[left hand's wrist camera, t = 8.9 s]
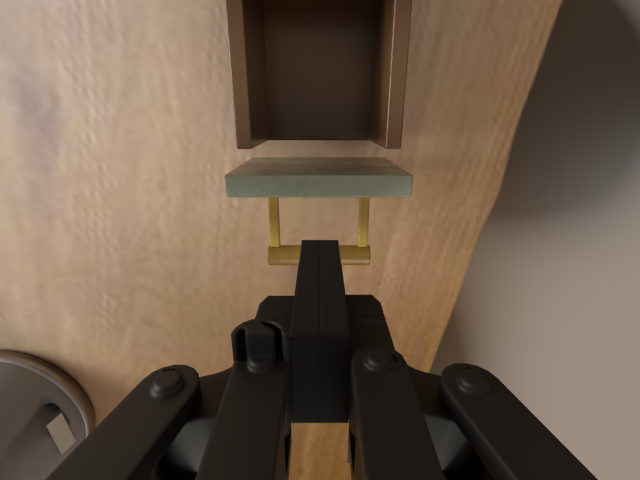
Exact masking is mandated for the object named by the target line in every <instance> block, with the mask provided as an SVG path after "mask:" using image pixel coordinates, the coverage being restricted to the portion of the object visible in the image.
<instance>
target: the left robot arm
mask: <svg viewBox="0 0 640 480" xmlns="http://www.w3.org/2000/svg"><path fill="white" fill-rule="evenodd" d="M231 339H232V348H233V357H234V364H233V366H232V367H231V368H229V369H227V370H225V371H222V372H219V373H216V374H212V375H208V376H203V377H199V374H198V373H197V372H196V370H195V369H194V368H192V367H189V366H187V365H172V366H167V367H163V368H161V369H159V370H157V371H154V372H152V373H151V374H150V375H148V376H147V377H146V378H145V379H143V380H142V381H141V382H140V383H139V384H138V385H137V386H136V387H135V388H134V389H133V390H132V391H131V392H130V393H129V394H128V395H127V397H126V398H125V399H124V400H123V401H122V402H121V403H120V404H119V405H118V406H117V407H116V408H115V409H114V410H113V411H112V412H111V413H110V414H109V415H108V416H107V417H106V418H105V419H104V420H103V421H102V422H101V423H100V424H99V425H98V426H97V427H96V428H95V417H94V412H93V409H92V406H91V404H90V402H89V400H88V398H87V396H86V395H85V394H84V392H83V391H82V390H81V388H80V387H79V386H78V385H77V384H76V383H75V382H74V381H73V380H72V379H71V378H70V377H68V376H67V375H66V374H65V373H63V372H62V371H60V370H59V369H57V368H56V367H54V366H52V365H50V364H48V363H47V362H44V361H42V360H40V359H38V358H35V357H32V356H29V355H26V354H22V353H18V352H12V351H4V350H0V480H288V479H289V467H290V454H291V442H292V440H291V421H292V423H348V419H349V440H348V463H350V466H351V478H352V480H598V479H597V478H596V477H595V476H594V475H593V474H592V473H591V472H590V471H589V470H588V469H587V468H586V467H585V466H584V465H583V464H582V463H581V462H580V461H579V460H578V459H577V458H576V457H575V456H574V455H573V454H572V453H571V452H570V451H569V450H568V449H567V448H566V447H565V446H564V445H563V444H562V443H561V442H560V441H559V440H558V439H557V438H556V437H555V436H554V435H553V434H552V433H551V432H550V431H549V430H548V429H547V428H546V427H545V426H544V425H543V424H542V423H541V422H540V421H539V420H538V419H537V418H536V417H535V416H534V415H533V414H532V413H531V412H530V411H529V410H528V409H527V408H526V407H525V406H524V405H523V404H522V403H521V402H520V401H519V400H518V399H517V398H516V397H515V396H514V395H513V394H512V393H511V392H510V390H509V389H507V387H506V386H505V385H504V384H503V383H502V382H501V381H500V380H499V379H498V378H496V377H495V376H494V375H493V374H491V373H490V372H489V371H487V370H485V369H483V368H480V367H478V366H475V365H470V364H466V363H458V364H452V365H450V366H447V367H446V368H445V369H444V370H443V372H442V375H441V376H439V375H434V374H430V373H426V372H422V371H419V370H416V369H414V368H412V367H410V366H408V365H407V364H406V361H405V360H404V358H403V356H402V355H401V354H399V353H398V352H397V351H395V348H394V345H393V342H392V339H391V336H390V332H389V329H388V326H387V323H386V319H385V316H384V314H383V310H382V306H381V303H380V302H379V301H378V300H377V299H376V298H375V297H374V296H373V295H345V288H344V281H343V273H342V266H341V259H340V251H339V244H338V240H302V244H301V251H300V259H299V266H298V273H297V281H296V288H295V296H268V297H267V298H265V299H264V300H263V301H262V302H261V303H260V305H259V308H258V311H257V315H256V318H255V319H252V320H249V321H246V322H243V323H242V324H240V325H239V326H237V327H236V328H235V329H234V330H233V332H232V333H231ZM94 428H95V429H94Z"/></svg>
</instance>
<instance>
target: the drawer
mask: <svg viewBox="0 0 640 480" xmlns="http://www.w3.org/2000/svg"><path fill="white" fill-rule="evenodd" d="M225 6H226V18H227V31H228V44H229V57H230V69H231V82H232V95H233V108H234V120H235V133H236V146H237V149H252V148H254V147H256V146H258V145H260V144H262V143H264V142H266V141H268V140H370V141H372V142H374V143H376V144H378V145H380V146H382V147H384V148H386V149H400V148H401V140H402V127H403V114H404V101H405V87H406V74H407V61H408V48H409V35H410V22H411V9H412V0H225ZM412 182H413V175H411V174H410V173H408V172H407V171H405V170H404V169H402V168H400V167H399V166H397V165H396V164H394V163H393V162H391V161H390V160H388V159H387V158H251V159H250V160H248V161H247V162H245V163H244V164H242V165H240V166H239V167H237V168H236V169H234V170H233V171H231V172H229V173H228V174H226V175H225V187H226V196H227V197H268V202H269V222H270V241H271V245H269V247H268V253H267V258H268V264H269V265H299V259H300V251H301V245H280V223H279V198H278V197H359V222H358V245H339V251H340V259H341V265H369V264H370V257H371V255H370V247H369V245H367V241H368V221H369V200H370V197H411V193H412Z"/></svg>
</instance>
